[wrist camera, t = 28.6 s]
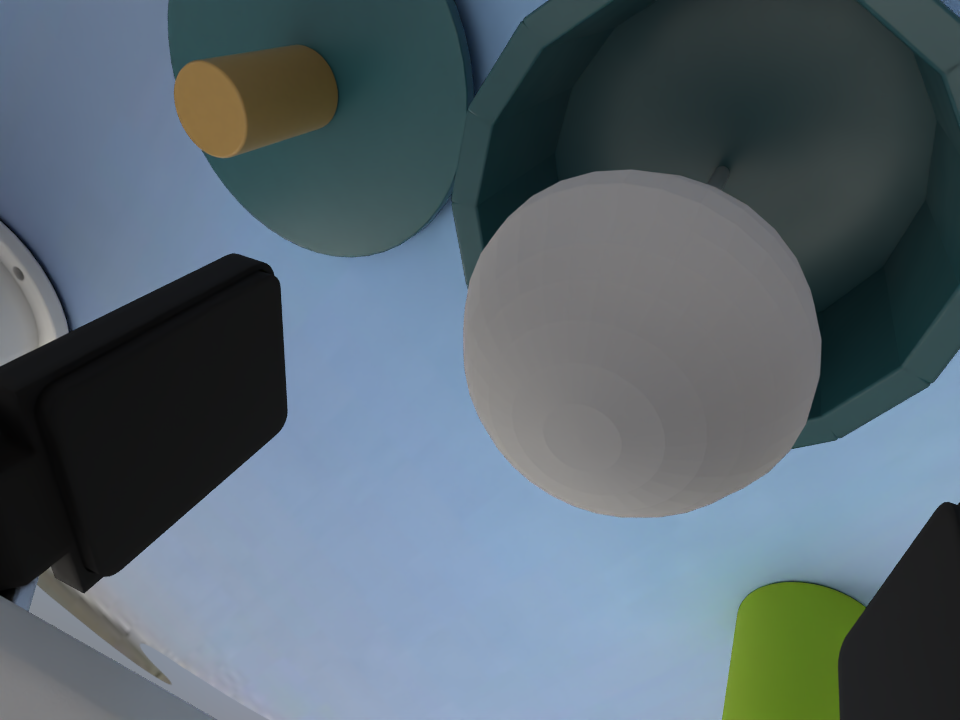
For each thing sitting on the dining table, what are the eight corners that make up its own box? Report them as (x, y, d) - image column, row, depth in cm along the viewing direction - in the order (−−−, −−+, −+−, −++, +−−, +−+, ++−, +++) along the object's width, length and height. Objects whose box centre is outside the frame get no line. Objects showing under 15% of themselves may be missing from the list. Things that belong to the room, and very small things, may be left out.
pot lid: (199, 188, 32) (84, 229, 27) (178, -168, 24) (9, -202, 19) (447, 293, 28) (368, 361, 23) (520, -80, 20) (422, -93, 16)
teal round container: (494, 324, 28) (412, 411, 23) (631, -231, 18) (541, -317, 12) (790, 450, 25) (778, 586, 20) (1170, -130, 15) (1372, -184, 9)
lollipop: (593, 142, 22) (326, 344, 10) (762, 23, 19) (643, 128, 7) (688, 293, 23) (542, 628, 12) (865, 208, 20) (911, 567, 8)
